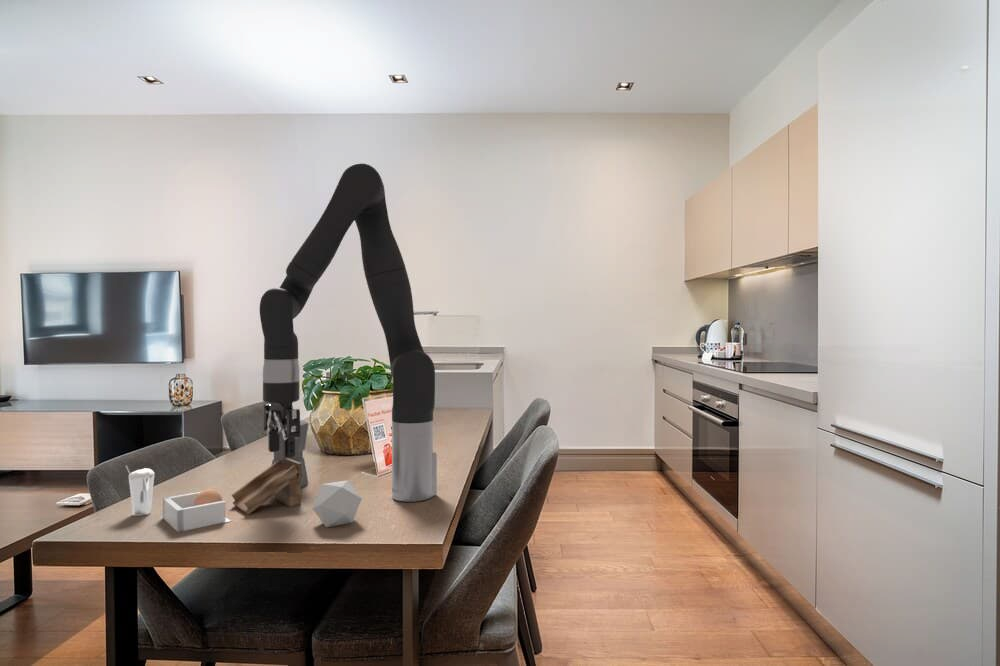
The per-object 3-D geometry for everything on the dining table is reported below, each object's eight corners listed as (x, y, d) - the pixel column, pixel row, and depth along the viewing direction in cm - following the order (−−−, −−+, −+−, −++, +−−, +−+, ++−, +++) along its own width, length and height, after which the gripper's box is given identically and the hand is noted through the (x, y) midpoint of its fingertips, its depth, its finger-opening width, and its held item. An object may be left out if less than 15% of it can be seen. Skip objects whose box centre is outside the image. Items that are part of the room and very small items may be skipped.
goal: (208, 509, 120) (208, 490, 120) (225, 522, 112) (225, 501, 112) (162, 518, 115) (162, 498, 115) (177, 532, 107) (177, 510, 107)
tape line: (212, 508, 121) (212, 507, 121) (231, 521, 113) (231, 520, 113) (206, 509, 121) (206, 508, 121) (224, 522, 112) (224, 522, 112)
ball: (222, 496, 120) (205, 482, 117) (231, 501, 116) (212, 486, 114) (203, 516, 117) (185, 502, 115) (211, 522, 113) (192, 507, 111)
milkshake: (132, 510, 120) (132, 462, 120) (159, 510, 120) (158, 462, 120) (119, 517, 115) (119, 468, 115) (147, 517, 115) (147, 467, 116)
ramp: (286, 495, 130) (286, 457, 130) (301, 503, 124) (301, 463, 124) (231, 506, 122) (231, 465, 122) (244, 515, 116) (244, 472, 116)
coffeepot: (305, 491, 134) (305, 414, 134) (262, 493, 132) (262, 415, 132) (312, 475, 149) (312, 406, 149) (274, 477, 147) (274, 407, 147)
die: (353, 516, 118) (325, 479, 117) (377, 502, 113) (347, 464, 113) (327, 542, 111) (296, 503, 110) (350, 529, 106) (318, 488, 106)
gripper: (311, 380, 123) (312, 456, 123) (285, 377, 133) (285, 447, 133) (277, 382, 118) (277, 462, 118) (251, 379, 128) (252, 451, 128)
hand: (281, 454), depth 125 cm, fingers open, 8 cm apart
